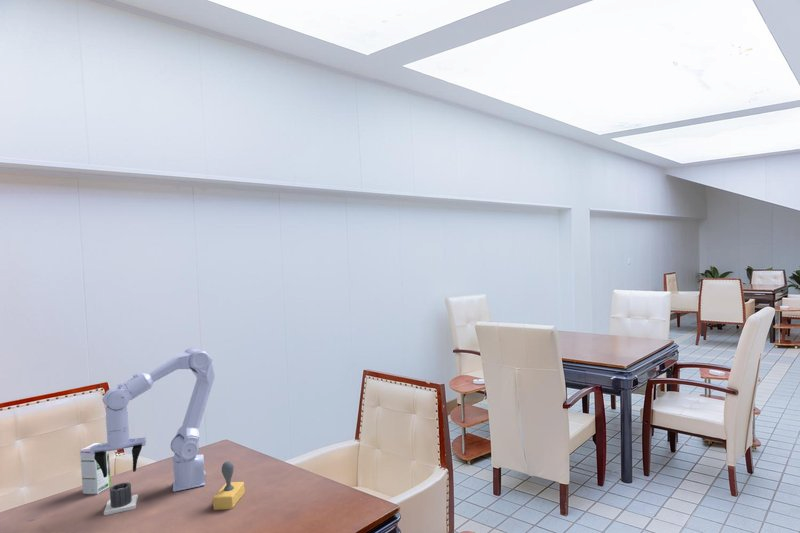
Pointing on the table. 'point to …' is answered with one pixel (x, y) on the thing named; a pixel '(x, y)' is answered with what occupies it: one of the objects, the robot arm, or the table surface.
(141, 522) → the table surface
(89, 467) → the syrup box
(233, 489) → the rubber stamp
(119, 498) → the gray grooved hollow cylinder
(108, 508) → the white square peg stand
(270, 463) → the table surface
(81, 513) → the table surface
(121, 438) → the robot arm
